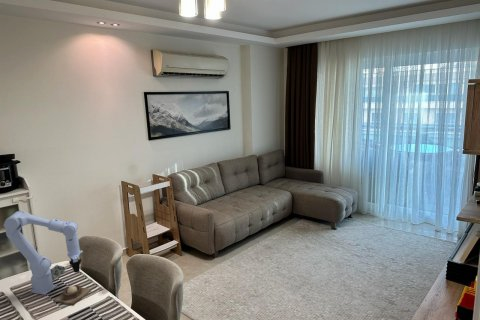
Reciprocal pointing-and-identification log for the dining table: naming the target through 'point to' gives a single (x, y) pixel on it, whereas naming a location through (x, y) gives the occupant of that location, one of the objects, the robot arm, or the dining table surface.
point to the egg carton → (57, 271)
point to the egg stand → (72, 296)
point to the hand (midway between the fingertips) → (76, 268)
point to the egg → (71, 290)
